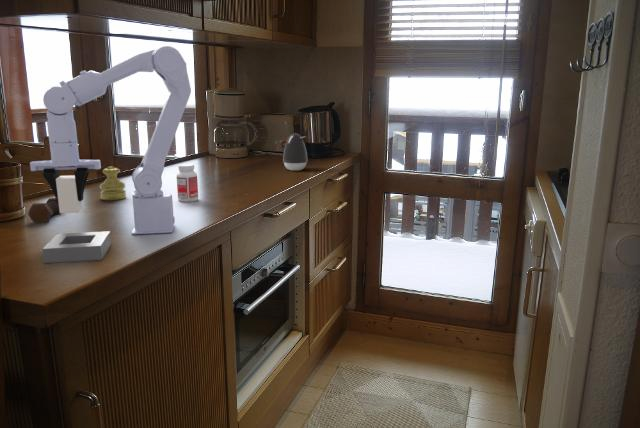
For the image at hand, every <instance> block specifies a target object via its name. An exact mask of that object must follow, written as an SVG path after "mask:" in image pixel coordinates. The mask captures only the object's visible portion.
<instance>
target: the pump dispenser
mask: <svg viewBox="0 0 640 428" xmlns="http://www.w3.org/2000/svg"><path fill="white" fill-rule="evenodd" d="M307 138H308V137H307V135H304V136H301V135H300V134H299V133H296V132H295V133H291V134H290V135H289V137H288V138H287V140H286V143H285V146H284V149H283V156H282V162H283V164H284V167H285V168H286V169H287V170H289V171H292V172H293V171H294V172H296V171H297V172H299V171H302V170H303V169H305V168H306V166H307V163H308V152H307V147H306V144H305V141H304V140H305V139H307Z"/></svg>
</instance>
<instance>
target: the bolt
mask: <svg viewBox="0 0 640 428" xmlns="http://www.w3.org/2000/svg"><path fill="white" fill-rule="evenodd" d="M27 214H28V216H29V218H30V219H31V221H32V222H33V223H35V224H44V223H45V224H46V223H49V222H50V219H51V218H52V215H60V214H61V213H60V211H59V202H57V201H56V198H55V197H49V198H48V199H47V201H46V202H38V203H37V202H35V203H32V204H31V206H30V208H29V210H28V212H27Z"/></svg>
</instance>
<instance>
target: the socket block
mask: <svg viewBox="0 0 640 428" xmlns="http://www.w3.org/2000/svg"><path fill="white" fill-rule="evenodd" d="M111 245H112V238H111V231H110V230H109V231H89V232H64V233H63V232H62V233H56V235H55V236H53V237H52V239H50V240H49V242H48V243H46V244H45V246H44V247H43V248H42V256H43V263H44V264H50V263H52V264H53V263H67V262H69V263H71V262H86V261H102V260H103V259H104V258H105V256H106V254H107V252H108V251H109V248H110V247H111Z"/></svg>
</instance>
